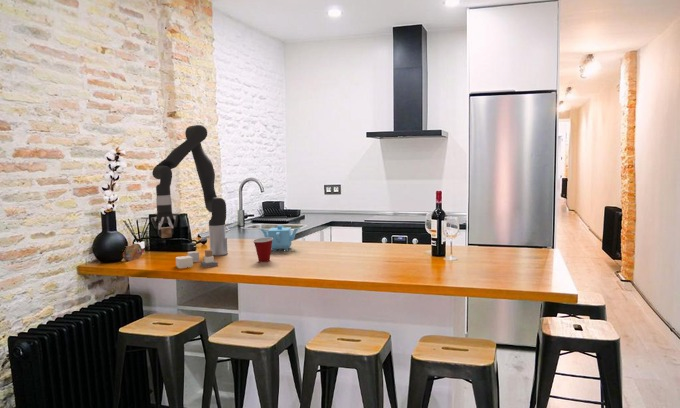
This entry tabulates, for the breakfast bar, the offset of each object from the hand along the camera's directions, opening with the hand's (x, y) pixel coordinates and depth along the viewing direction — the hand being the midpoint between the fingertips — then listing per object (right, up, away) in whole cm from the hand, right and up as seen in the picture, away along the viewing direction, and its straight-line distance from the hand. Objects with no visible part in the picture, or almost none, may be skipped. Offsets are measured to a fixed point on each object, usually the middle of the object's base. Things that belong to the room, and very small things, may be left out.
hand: (165, 235), depth 269 cm
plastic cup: (+51, -14, +3) cm, 53 cm away
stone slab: (-25, -15, +18) cm, 35 cm away
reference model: (+24, -15, -6) cm, 29 cm away
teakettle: (+56, -11, +38) cm, 69 cm away
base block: (+12, -16, -6) cm, 21 cm away
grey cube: (+12, -14, +8) cm, 21 cm away
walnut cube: (0, -1, 0) cm, 1 cm away
